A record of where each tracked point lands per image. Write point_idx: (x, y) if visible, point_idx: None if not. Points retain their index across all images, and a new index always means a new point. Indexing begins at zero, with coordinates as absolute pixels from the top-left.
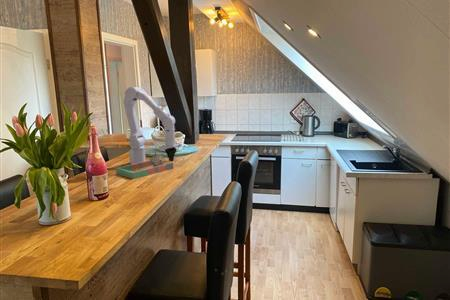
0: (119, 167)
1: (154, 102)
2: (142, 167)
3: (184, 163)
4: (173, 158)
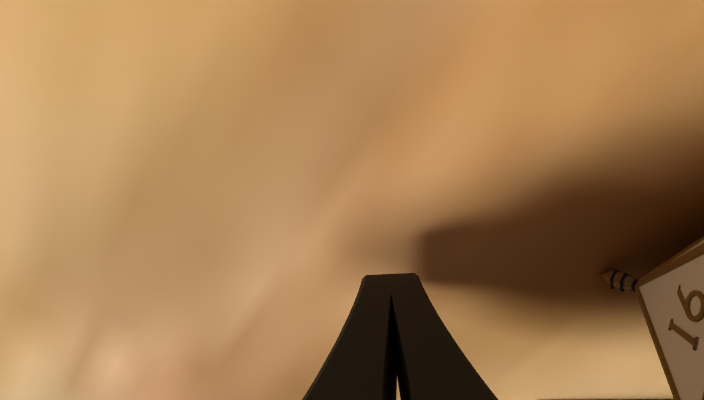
0: None
1: None
2: None
3: (166, 127)
4: (362, 307)
